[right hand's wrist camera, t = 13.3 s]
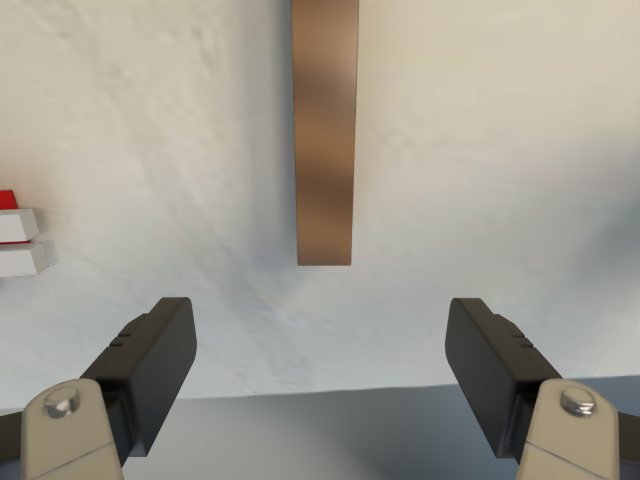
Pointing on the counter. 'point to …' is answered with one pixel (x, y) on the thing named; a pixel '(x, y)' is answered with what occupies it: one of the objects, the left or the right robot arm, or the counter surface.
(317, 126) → the post
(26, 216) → the toy
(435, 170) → the counter surface
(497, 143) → the counter surface
